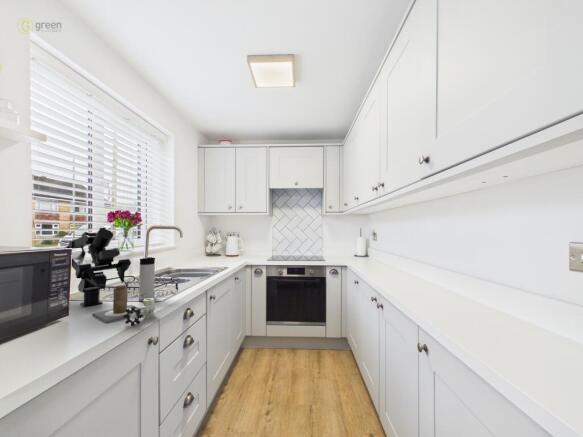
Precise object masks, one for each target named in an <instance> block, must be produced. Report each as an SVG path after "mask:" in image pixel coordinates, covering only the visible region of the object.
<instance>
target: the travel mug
mask: <svg viewBox="0 0 583 437" xmlns="http://www.w3.org/2000/svg"><path fill="white" fill-rule="evenodd" d="M155 259H156V257H152V256H149V257H147V258H146V257H145V258H139V272H138V273H139V277H138V279H139V280H138V301H139V302H141V301H143V300H144V299H148V298H153V299H155V276H156V275H155V270H156V268H155V267H156V265H155V262H156V260H155Z"/></svg>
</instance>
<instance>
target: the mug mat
mask: <svg viewBox="0 0 583 437" xmlns="http://www.w3.org/2000/svg"><path fill="white" fill-rule="evenodd" d="M133 306H135V305H133V304H129V305H127V309H128V308H129V310H131V307H133ZM135 307H136V308H135V310H137V309H140V308H141V307H138V306H135ZM125 314H126V315H127V312H125V313H120V314H114V313H113V308H111V309H106V310H101V311H95V312H92V315H91V316H93V317H95V318H96V319H98V320H99V321H102V322H103V323H105V324H110V323H113V322H117V321H121V320H124V319H125V320H127V318H123V315H125ZM131 315H132V314H131V313H130V314H129V318H130V319H131V317H130V316H131Z"/></svg>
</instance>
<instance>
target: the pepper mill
mask: <svg viewBox="0 0 583 437" xmlns="http://www.w3.org/2000/svg"><path fill="white" fill-rule="evenodd" d="M128 288H129V287H126V284H122V285H121V284H120V285H116V286H115V288H113V294H112V295H113V297H112V298H113V299H112V301H113V302H112V309H113V313H114V314H120V313H125V312H126V309H127V306H128V290H129V289H128Z"/></svg>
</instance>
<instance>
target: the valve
mask: <svg viewBox="0 0 583 437" xmlns="http://www.w3.org/2000/svg"><path fill="white" fill-rule="evenodd" d="M142 304H143V305H142V307H139V308H140V309H137V310H135V308H136V307H137V306H136V307H135V305H133V307H131V310H129V308H128V309H126V312H127V315H126V314H125V315H123V318H126V320H125V324H126V325H128V324H129V323H130V326H131V327H133V326H135V325H139V324H141V322H142V320H140V319H142V318H144V319H150V318H153V317H155V309H156V306H155V298H154V299H153V298H148V299H144V300H143V302H142ZM130 313H131V314H132V315H131V316H130V318H129V314H130Z"/></svg>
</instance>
